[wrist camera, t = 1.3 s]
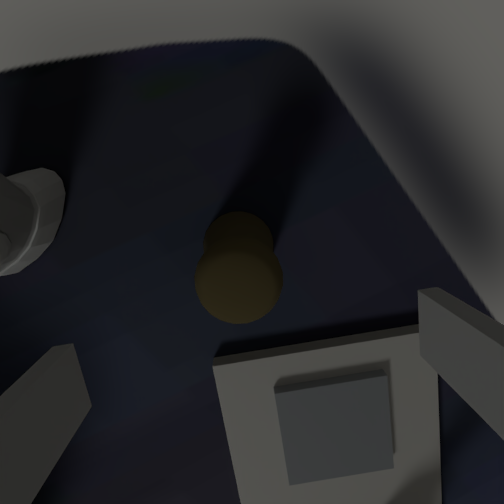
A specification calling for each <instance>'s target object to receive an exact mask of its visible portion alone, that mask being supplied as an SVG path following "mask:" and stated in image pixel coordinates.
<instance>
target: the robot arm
mask: <svg viewBox="0 0 504 504" xmlns="http://www.w3.org/2000/svg"><path fill="white" fill-rule="evenodd" d="M418 311H419V339H420V356H421V357H422V358H423V359H424V360H425V361H426V362H427V363H428V364H429V365H430V366H431V367H432V368H433V369H434V370H435V371H436V372H437V373H438V374H439V375H440V376H441V377H442V378H443V379H444V380H445V381H446V382H447V383H448V384H449V385H450V386H451V387H452V388H453V389H454V390H455V391H456V392H457V393H458V394H459V395H460V396H461V397H462V398H463V399H464V400H465V401H466V402H467V403H468V404H469V405H470V406H471V407H472V408H473V409H474V410H475V411H476V412H477V413H478V414H479V415H480V416H481V417H482V418H483V419H484V421H485V422H486V423H487V424H488V425H489V426H490V427H491V428H492V429H493V430H494V431H495V432H496V433H497V434H498V435H499V436H500V437H501V438H502V439H503V440H504V325H502V324H501V323H499V322H497V321H495V320H494V319H492V318H490V317H488V316H487V315H485V314H483V313H482V312H480V311H478V310H476V309H475V308H473V307H471V306H469V305H468V304H466V303H464V302H463V301H461V300H459V299H457V298H456V297H454V296H452V295H451V294H449V293H447V292H445V291H444V290H442V289H440V288H438V287H435V288H429V289H422V290H418ZM91 407H92V405H91V402H90V398H89V395H88V392H87V388H86V385H85V382H84V378H83V375H82V372H81V368H80V365H79V362H78V358H77V355H76V352H75V348H74V345H73V343H72V344H66V345H59V346H53V347H52V348H51V349H50V350H49V351H48V352H46V353H45V354H44V355H43V356H42V357H41V358H40V359H39V360H38V361H37V362H36V363H35V364H34V365H33V366H32V367H31V368H30V369H28V370H27V371H26V372H25V373H24V374H23V375H22V376H21V377H20V378H19V379H18V380H17V381H16V382H15V383H14V384H13V385H12V386H10V387H9V388H8V389H7V390H6V391H5V392H4V393H3V394H2V395H1V396H0V504H31V503H32V501H33V500H34V498H35V497H36V495H37V493H38V492H39V490H40V489H41V487H42V485H43V484H44V482H45V481H46V479H47V477H48V476H49V474H50V472H51V471H52V469H53V468H54V466H55V464H56V463H57V461H58V460H59V458H60V456H61V455H62V453H63V452H64V450H65V448H66V447H67V445H68V444H69V442H70V440H71V439H72V437H73V436H74V434H75V432H76V431H77V429H78V428H79V426H80V424H81V423H82V421H83V420H84V418H85V416H86V415H87V413H88V412H89V410H90V408H91Z"/></svg>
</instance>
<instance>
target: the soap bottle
mask: <svg viewBox="0 0 504 504" xmlns="http://www.w3.org/2000/svg"><path fill="white" fill-rule="evenodd" d="M65 194H66V193H65V189H64V185H63V181H62V179H61V178H60V177H59V176H58V175H57V173H56V172H55V171H52V170H49V169H45V168H38V169H33V170H29V171H25V172H21V173H18V174H15V175H11V176H8V177H5V176H4V175H2V174H1V173H0V276H3V275H9V274H14V273H18V272H19V271H21V270H22V269H24V268H25V267H26V266H28V265H29V264H31V263H32V262H34V261H35V260H36V259H38V257H39V256H40V255H41V254H42V253H43V252H44V251H45V250H46V248H47V247H48V246H49V245H50V244H51V243H52V242H53V240H54V237H55V235H56V232H57V230H58V227H59V225H60V222H61V219H62V214H63V208H64V201H65Z"/></svg>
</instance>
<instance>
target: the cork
mask: <svg viewBox="0 0 504 504" xmlns="http://www.w3.org/2000/svg"><path fill="white" fill-rule="evenodd" d="M203 246H204V254H203V256H202V257H201V259H200V260H199V262H198V264H197V268H196V272H195V276H194V278H195V289H196V292H197V295H198V297H199V299H200V301H201V304H202V305H203V306H204V307H205V309H206V310H207V311H208V312H209V313H210V314H211V315H213V316H215V317H216V318H218V319H220V320H221V321H225V322H229V323H233V324H240V323H249V322H252V321H255V320H258V319H260V318H262V317H263V316H264V315H266V314H267V313H268V312H269V311H271V309H272V308H273V307H274V305H275V304H276V302H277V301H278V299H279V296H280V293H281V289H282V286H283V272H282V269H281V266H280V264H279V261H278V258H277V257H276V255H275V254H274V253H273V237H272V235H271V232H270V229H269V228H268V227H267V225H266V224H265V223H264V222H263V220H261V219H260V218H258V217H257V216H255V215H254V214H251V213H247V212H243V211H237V212H229V213H227V214H224V215H221V216H220V217H218V218H217V219H216V220H215V221H214V222H212V223H211V225H210V227H209V228H208V230H207V231H206V234H205V238H204V242H203Z"/></svg>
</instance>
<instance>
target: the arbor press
mask: <svg viewBox="0 0 504 504" xmlns="http://www.w3.org/2000/svg"><path fill="white" fill-rule="evenodd" d="M213 371H214V376H215V381H216V386H217V390H218V395H219V400H220V405H221V410H222V415H223V419H224V424H225V429H226V434H227V439H228V443H229V448H230V453H231V458H232V463H233V468H234V472H235V477H236V482H237V487H238V492H239V497H240V501H241V504H442V493H441V463H440V433H439V402H438V373H437V372H436V371H435V370H434V369H433V368H432V367H431V366H430V365H429V364H428V363H427V362H426V361H425V360H424V359H423V358H422V357H421V356H420V339H419V324H416V325H409V326H403V327H397V328H391V329H385V330H379V331H373V332H367V333H361V334H355V335H349V336H342V337H336V338H330V339H324V340H318V341H312V342H306V343H300V344H294V345H288V346H282V347H275V348H269V349H263V350H257V351H251V352H245V353H239V354H233V355H227V356H221V357H214V360H213Z"/></svg>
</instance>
